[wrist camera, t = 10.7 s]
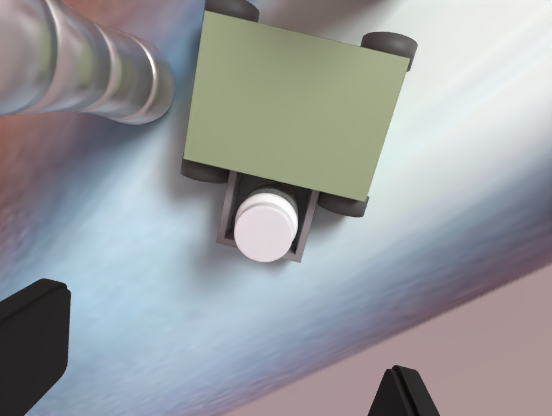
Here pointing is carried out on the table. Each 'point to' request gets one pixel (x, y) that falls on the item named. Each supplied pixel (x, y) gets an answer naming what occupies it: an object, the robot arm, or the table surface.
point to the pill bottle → (266, 222)
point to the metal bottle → (78, 65)
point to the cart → (290, 111)
